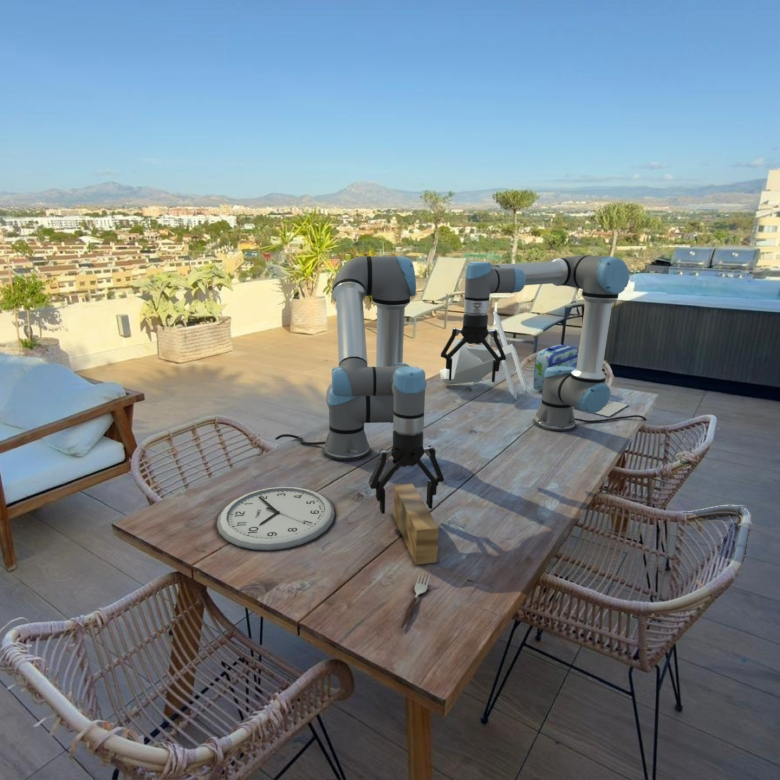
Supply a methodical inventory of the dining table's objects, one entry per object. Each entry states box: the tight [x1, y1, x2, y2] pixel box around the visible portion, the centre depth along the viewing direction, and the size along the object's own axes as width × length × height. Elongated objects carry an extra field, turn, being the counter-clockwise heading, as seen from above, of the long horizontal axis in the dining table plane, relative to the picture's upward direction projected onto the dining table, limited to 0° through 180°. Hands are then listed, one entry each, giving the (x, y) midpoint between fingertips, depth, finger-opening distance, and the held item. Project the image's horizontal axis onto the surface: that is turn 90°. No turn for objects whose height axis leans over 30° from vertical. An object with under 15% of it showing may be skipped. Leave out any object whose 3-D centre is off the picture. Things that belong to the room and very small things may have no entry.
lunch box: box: [533, 344, 579, 392], centre depth 247 cm, size 26×11×21 cm, turn 134°
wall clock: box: [216, 486, 336, 551], centre depth 136 cm, size 30×2×30 cm
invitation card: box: [595, 399, 629, 418], centre depth 226 cm, size 21×1×15 cm
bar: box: [392, 483, 440, 566], centre depth 127 cm, size 22×5×9 cm, turn 13°
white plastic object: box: [438, 310, 531, 400], centre depth 245 cm, size 37×45×31 cm
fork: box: [400, 570, 431, 629], centre depth 106 cm, size 3×16×2 cm, turn 160°
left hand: (405, 508), depth 134 cm, fingers open, 12 cm apart
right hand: (471, 380), depth 167 cm, fingers open, 13 cm apart
